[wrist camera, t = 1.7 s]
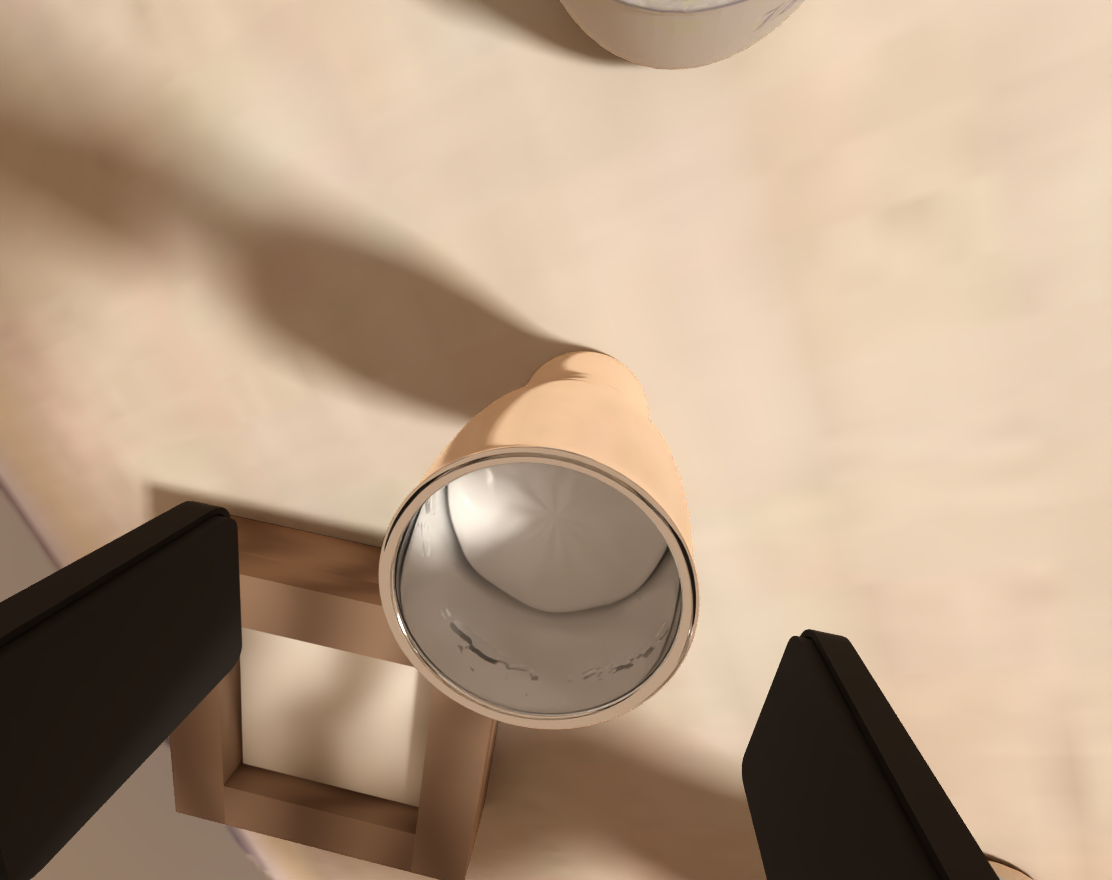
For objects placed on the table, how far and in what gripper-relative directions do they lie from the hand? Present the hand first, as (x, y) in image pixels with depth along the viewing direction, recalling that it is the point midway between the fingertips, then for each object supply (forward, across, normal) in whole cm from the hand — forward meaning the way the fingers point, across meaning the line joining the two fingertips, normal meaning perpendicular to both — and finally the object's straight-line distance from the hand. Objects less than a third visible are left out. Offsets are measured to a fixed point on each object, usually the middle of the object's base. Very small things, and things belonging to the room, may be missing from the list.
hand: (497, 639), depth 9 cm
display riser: (+17, +9, +19) cm, 27 cm away
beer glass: (+17, -1, +1) cm, 17 cm away
